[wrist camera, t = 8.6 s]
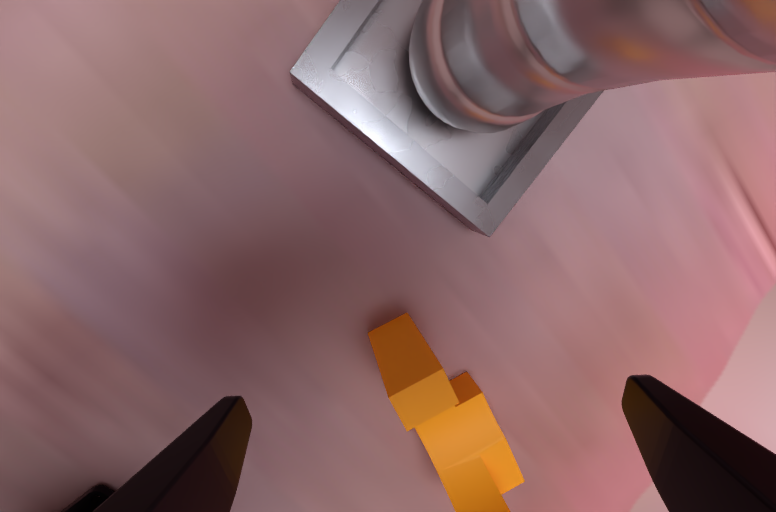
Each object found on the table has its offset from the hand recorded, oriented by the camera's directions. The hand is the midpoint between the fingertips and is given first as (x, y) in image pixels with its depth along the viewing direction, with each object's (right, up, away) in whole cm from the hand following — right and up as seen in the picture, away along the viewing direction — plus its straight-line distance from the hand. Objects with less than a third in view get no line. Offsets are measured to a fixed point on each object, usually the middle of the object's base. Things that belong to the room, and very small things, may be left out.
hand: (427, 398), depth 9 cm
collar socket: (+3, +13, +10) cm, 17 cm away
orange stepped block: (+2, -5, +15) cm, 16 cm away
